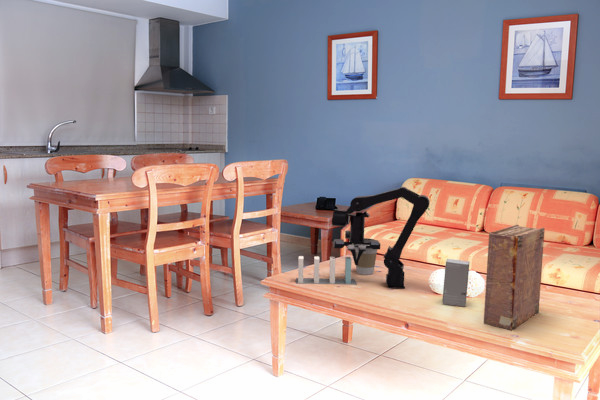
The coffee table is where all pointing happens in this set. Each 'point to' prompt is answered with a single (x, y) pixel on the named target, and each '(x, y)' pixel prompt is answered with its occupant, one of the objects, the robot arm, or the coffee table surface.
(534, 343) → the coffee table surface
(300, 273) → the ivory end domino
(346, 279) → the teal domino
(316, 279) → the ivory domino
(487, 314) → the book
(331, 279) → the ivory domino
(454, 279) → the skincare box
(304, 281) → the mat
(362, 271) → the coffee cup
